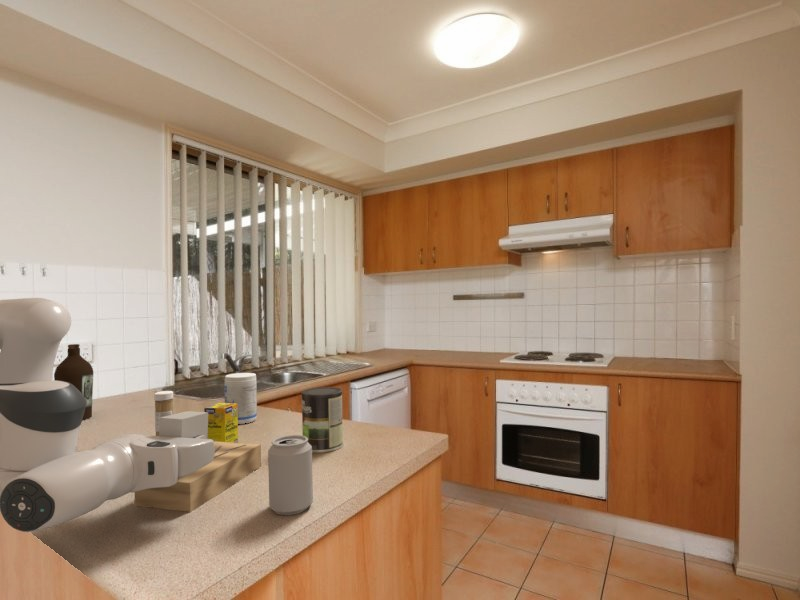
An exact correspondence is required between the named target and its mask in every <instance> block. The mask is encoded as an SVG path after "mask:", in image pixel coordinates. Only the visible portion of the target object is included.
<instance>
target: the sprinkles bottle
mask: <svg viewBox="0 0 800 600" xmlns="http://www.w3.org/2000/svg"><path fill="white" fill-rule="evenodd" d="M153 395H154V396H153V400H154V418H155V419H154V422H155V423H154V424H155V425H154V428H155V429H154V430H155V436H159V420H160V418H161V417H165V416H169V415H173V414H174V392H173V391H172V390H162V391H158V392H157V391H156V392H155V393H154V394H153Z"/></svg>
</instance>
